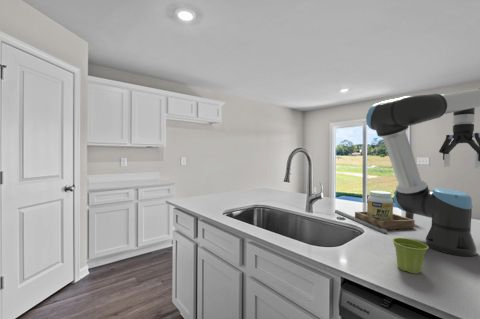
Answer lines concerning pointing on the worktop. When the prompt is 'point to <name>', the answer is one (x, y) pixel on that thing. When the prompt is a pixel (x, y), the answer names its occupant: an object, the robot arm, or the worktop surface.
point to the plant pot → (409, 254)
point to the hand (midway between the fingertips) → (461, 167)
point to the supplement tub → (380, 205)
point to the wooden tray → (396, 222)
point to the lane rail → (362, 222)
